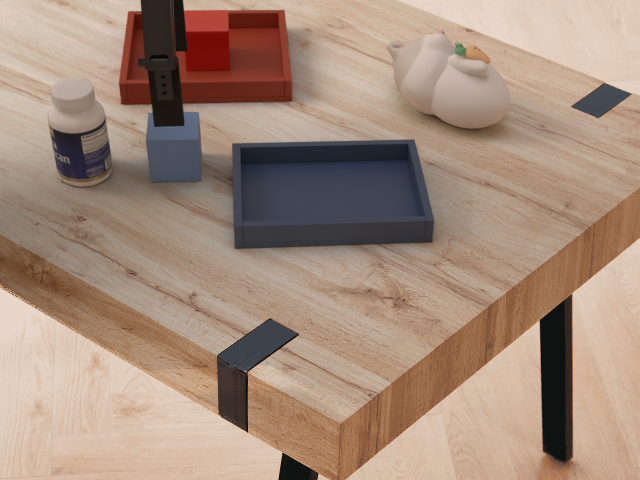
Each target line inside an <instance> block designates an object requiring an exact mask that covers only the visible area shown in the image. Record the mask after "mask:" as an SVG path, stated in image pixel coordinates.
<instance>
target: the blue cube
mask: <svg viewBox="0 0 640 480" xmlns="http://www.w3.org/2000/svg"><path fill="white" fill-rule="evenodd" d="M184 121H185V123H184V126H170V127H154V121H153V112H148V113H147V123H146V135H145V146H146V153H147V162H148V163H147V164H148V171H149V180H150V183H175V182H176V183H177V182H201V181H202V168H203V167H202V166H203V165H202V163H203V160H202V157H203V149H202V137H201V135H202V134H201V122H200V112H199V111H184Z"/></svg>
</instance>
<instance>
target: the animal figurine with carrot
mask: <svg viewBox="0 0 640 480" xmlns="http://www.w3.org/2000/svg"><path fill="white" fill-rule="evenodd" d="M386 45H387V46H386V49H387V51H388V53H389V54H390V56H391V58H392V61H391V67H392V69H393V78H394V82H395V86H396V89H397V91H398V93H399V95H400V96H401V97H402V98H403V99H404V100H405V102H407V103H408V104H409V105H410V106H411V107H412V108H414V109H415V110H417V111H418V112H420V113H422V114H425V115H431V116H436V117H437V118H439V119H440V120H441V121H443V122H445V123H447V124H448V125H451V126H454V127H456V128H457V127H458V128H462V129H472V130H473V129H474V130H475V129H483V128H488V127H490V126H493V125H495V124H496V123H498V122H500V121H501V120H502V119H504V117H505V116H506V115H507V113H508V111H509V109H510V106H511V95H510V90H509V88H508V85H507V82H506V81H505V80H504V78H503V76H502V75H501V73H499V71H498V70H497V68H495V67H494V66H493V65H492V64H490V63H491V58H490V57H489V56H488V54H487V53H486V52H484V51H483V50H481V49H480V48H479V47H478V46H475V45H467V46H464V45H463V44H462V42H460V43H459V41H456V42H454V43H453V42H452V40H451V39H450V38H449V37H448V36H447V35H446V32H445V30H444V29H440V30H439V31H438V32H432V33H427V34H425V35H423V36H421V37H418V38H416V39H414V40H411V41H398V40H392V41H389V42H388V43H387V44H386Z"/></svg>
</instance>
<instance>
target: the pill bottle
mask: <svg viewBox="0 0 640 480" xmlns="http://www.w3.org/2000/svg"><path fill="white" fill-rule="evenodd" d="M49 93H50V98H51V100H50V101H51V103H52V105H50V107H49V109H48V110H47V125H48V130H49V134H50V141H51V146H52V152H53V157H54V162H55V168H56V171H57V175H58V177H59V178H60V180H61V181H62V182H63V183H65V184H67V185H71V186H73V187H81V188H82V187H83V188H84V187H91V186H95V185H98V184H100V183H102V182H104V181H105V180H106V179H108V178H109V177H110V175H111V174H112V171H113V159H112V158H113V157H112V152H111V146H110V137H109V132H108V131H109V130H108V124H107V123H108V122H107V117H106V111H105V108H104V105H102V103H101V102H99V100H97V99H96V93H95V87H94V84H93V83H92V82H91V80H88V79H87V78H84V77H80V76H79V77H78V76H72V77H71V76H70V77H64V78H61V79H59V80H57V81H55V82H54V83H53V84H52V85H51V87H50V89H49Z"/></svg>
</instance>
